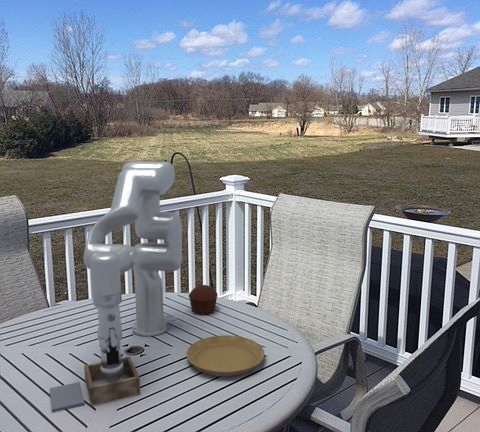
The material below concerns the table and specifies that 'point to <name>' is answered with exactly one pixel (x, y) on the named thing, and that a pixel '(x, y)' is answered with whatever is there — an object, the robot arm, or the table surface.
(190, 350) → the plant saucer
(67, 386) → the slate tile
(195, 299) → the muffin
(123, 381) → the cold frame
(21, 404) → the table surface
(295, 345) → the table surface
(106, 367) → the plastic bottle
